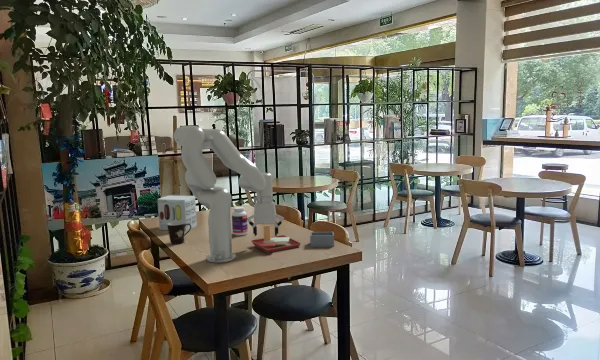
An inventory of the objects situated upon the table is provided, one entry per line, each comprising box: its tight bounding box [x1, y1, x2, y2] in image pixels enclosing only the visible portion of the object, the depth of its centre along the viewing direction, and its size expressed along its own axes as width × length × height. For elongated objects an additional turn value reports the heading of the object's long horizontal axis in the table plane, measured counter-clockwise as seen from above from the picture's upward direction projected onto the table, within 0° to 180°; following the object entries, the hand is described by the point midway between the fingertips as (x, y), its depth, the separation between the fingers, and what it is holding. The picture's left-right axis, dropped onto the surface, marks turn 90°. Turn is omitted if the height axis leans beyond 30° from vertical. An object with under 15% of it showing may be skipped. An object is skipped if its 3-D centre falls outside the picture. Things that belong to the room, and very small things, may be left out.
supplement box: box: [157, 195, 198, 232], centre depth 257 cm, size 17×13×18 cm
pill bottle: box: [231, 206, 249, 236], centre depth 239 cm, size 8×8×14 cm
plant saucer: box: [250, 234, 302, 255], centre depth 212 cm, size 18×18×3 cm
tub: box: [309, 231, 335, 248], centre depth 212 cm, size 7×11×6 cm, turn 86°
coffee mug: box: [167, 222, 192, 246], centre depth 226 cm, size 12×9×10 cm
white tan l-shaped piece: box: [263, 224, 291, 244], centre depth 212 cm, size 8×12×8 cm, turn 87°
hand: (265, 235), depth 212 cm, fingers open, 9 cm apart
